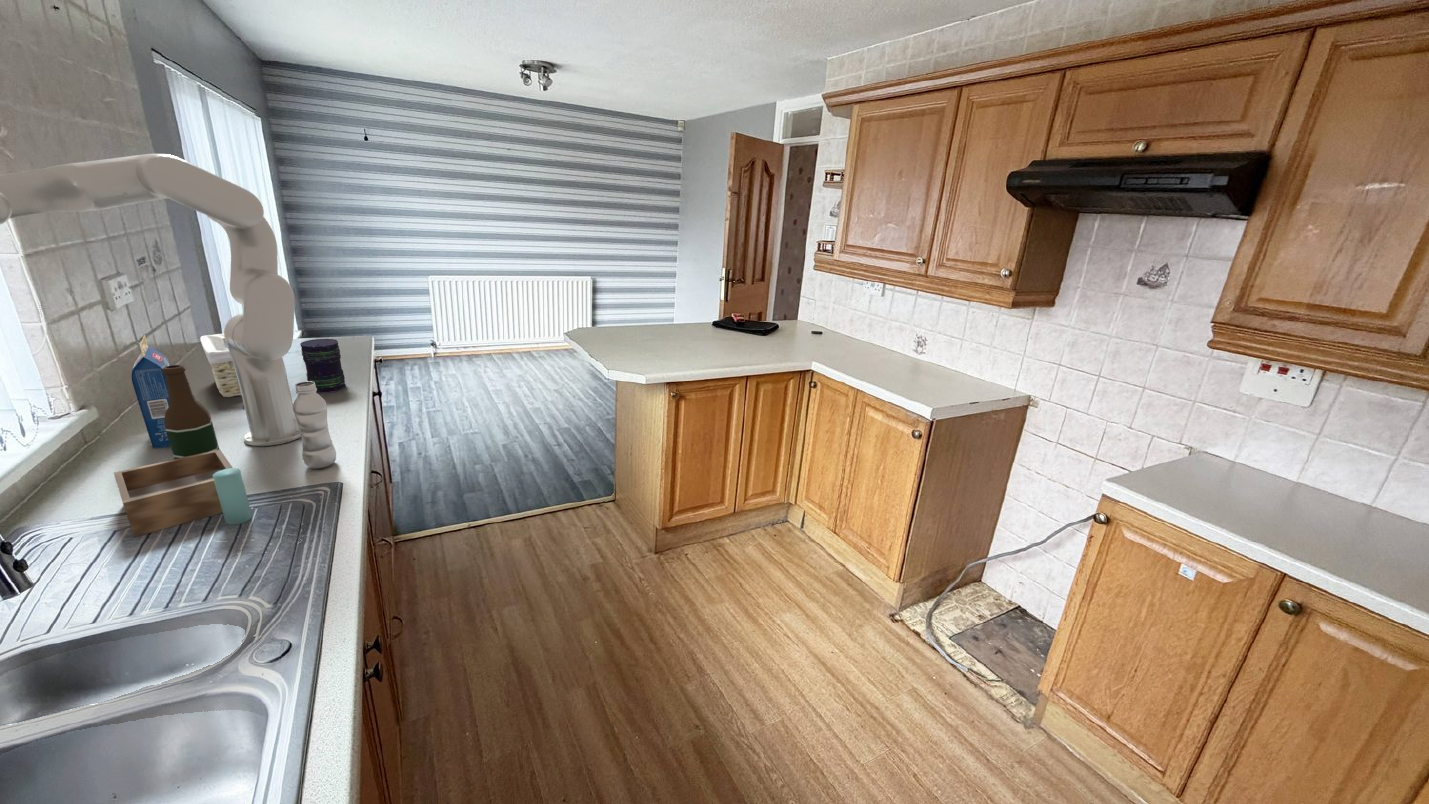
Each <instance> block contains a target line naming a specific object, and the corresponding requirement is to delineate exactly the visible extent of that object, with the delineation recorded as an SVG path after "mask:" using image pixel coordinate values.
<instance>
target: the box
mask: <svg viewBox="0 0 1429 804" xmlns="http://www.w3.org/2000/svg"><path fill="white" fill-rule="evenodd" d="M229 468H234V467H233V466H232V465H231V463H230V461H228V458H227V457H226V456H225V454H224V453H223V452H222V450H221V449H220V448H219V450H215V451H210V452H206V453H201V454H197V455H192V456H187V457H183V458H178V459H174V458H173V459H170V460H166V461H160V462H155V463H151V464H146V465H143V466H138V467H132V468H129V469H124V470H120V471H119V470H118V471H115V472H113V475H114V478H115V481H116V484H117V485H116V486H117V488H118V493H119V495H120V498H121V501H122V504H123V507H124V511H125V513H126V516H127V519H128V523H129V525H130V528H131V531H132V534H133V537H134V538H136V537H141V536H144V535H147V534H150V533H155V532H158V531H161V530H164V529H168V528H172V527H176V526H179V525H182V524H186V523H189V522H193V521H198V520H200V519H204V518H207V517H211V516H215V515H218V514H221V513H222V514H223V512H222V508H221V504H220V501H219V497H218V494H217V490H216V486H215V483H214V479H213V474H214V473H216V472H218V471H220V470H224V469H229Z"/></svg>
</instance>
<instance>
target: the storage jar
mask: <svg viewBox="0 0 1429 804" xmlns="http://www.w3.org/2000/svg"><path fill="white" fill-rule="evenodd" d="M299 345H300V348H301V356H302V360H303V363H304V365H305V369H306V381H312V382H315V385H316V388H317V391H316V393H317V394H327V393H328V394H329V393H336V392H339V391H342V390H344V389H345V388H346V387H347V384H346V380H345V379H346V377H345V374H344V370H343V367H342V362H341V359H342V357H341V350H340V346H339V340H337V339H334V338H316V339H310V340H309V339H308V340H305V341H302V342H300V344H299Z"/></svg>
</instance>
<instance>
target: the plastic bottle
mask: <svg viewBox="0 0 1429 804" xmlns="http://www.w3.org/2000/svg"><path fill="white" fill-rule="evenodd" d="M316 391H317V388H316V385H315V382H312V381H307V380H306V381H300V382H297V383H296V384H295V392H296V394H297V397H296V398H295V400H294V401H293V402H292V403H293V408H292V409H293V412H294V415H295V417H296V420H297V422H298V425H299V429H300V433H301V437H300V438H301V445H302V449H301V450H302V451H301V452H302V454H301V455H302V461H303V462H304V465H305V466H306V467H308V468H310V469H313V470H314V469H316V470H317V469H323V468H327V467H329V466H331V465H333V464H334V463H335V461H336V460H337V451H336V448H335V446H334V444H333V441H332V437H331V435H330V431H329V422H328V406H327V402H326V400H325V399H324V398H323V397H322V396H321V395H320V394H319V393H316Z"/></svg>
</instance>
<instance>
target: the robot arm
mask: <svg viewBox="0 0 1429 804" xmlns="http://www.w3.org/2000/svg"><path fill="white" fill-rule="evenodd" d="M165 199H169V200H171V201H174V202H176V203H178V204H180V205H181V206H182V205H183V206H185V207H187V208H189V209H191V210H194V211H196V212H199V213H201V214H203V215H205V216H206V217H208V218H209V219H210V220H211V221H214V223H217V224H219V226H221V228H222V229H223V230H224V231H225V233H226V234H227V236H228V240H229V244H230V245H229V246H230V276H229V277H230V279H229V280H230V281H229V292H230V295H231V297H232V299H234V300H235V302H237V303H238V304H239V305H242V306H243V312H242V313H238V314H236V315H234V316H231V318H230V319H229V320H227V321H226V323H225V325H224V330H223V334H224V337H225V341H226V342H225V345H226V347H227V348H228V350H229V352H230V355H231V357H232V360H233V363H234V367H235V370H236V374H237V378H238V383H239V387H240V391H241V395H240V396H241V398H242V403H243V407H244V410H245V415H246V418H247V423H248V427H249V430H250V431H249V432H247V433H246V434H244V436H243V440H244V443H245V444H246V445H250V446H252V447H253V446H254V447H267V446H268V447H269V446H277V445H283V444H286V443H289V442H290V443H291V442H292V441H293V442H294V441H295V440H297V439H300V438H302V437H301V433H300V429H299V425H298V422H297V420H296V417H295V415H294V412H293V409H292V408H293V403H294V402H293V398H292V394H291V390H290V385H289V380H288V375H287V369H286V366H285V362H284V358H283V357H284V356H286V354H288V352H289V351H290V350H291V348H292V345H293V341H294V330H295V327H294V326H295V305H296V303H295V293H294V291H293V288H292V286H291V285H290V283H289V282H288V281H287V280H286V279H285V278H284V277H283V276H281V275H279V273H278V271H279V266H278V264H279V263H278V245H277V240H276V239H277V238H276V235H275V233H274V231H273V228H272V227H271V225H270V223H269V222H268V221H267V219H266V218H265V216H264V215H265V213H264V211H265V210H264V207H263V206H264V205H263V204H262V201H260V199H259V198H258V197H257V196H256V195H255V194H254V193H253V192H251V191H249V190H248V189H246V188H244V187H242V186H239V185H237V184H235V183H233V182H231V181H229V180H227V179H225V178H223V177H220V176H218V175H217V174H214V173H212V172H210V171H208V170H205V169H203V168H201V167H199V166H197V165H194V164H193V163H191V162H189V161H187V160H185V159H183V158H180V157H178V156H175V155H173V154H172V155H171V154H167V153H147V154H145V153H144V154H136V155H129V156H121V157H114V158H113V157H112V158H106V159H105V158H104V159H98V160H89V161H81V162H80V161H79V162H72V163H71V162H70V163H66V164H58V165H53V166H48V167H45V168H39V169H33V170H25V171H18V172H10V173H2V174H1V173H0V226H1V225H4V224H5V223H6V222H7V221H8V220H10V219H15V218H20V217H27V216H33V215H39V214H41V215H42V214H49V213H59V212H93V211H102V210H108V209H113V208H118V207H124V206H130V205H135V204H141V203H142V204H143V203H148V202H154V201H159V200H160V201H161V200H165Z"/></svg>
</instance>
